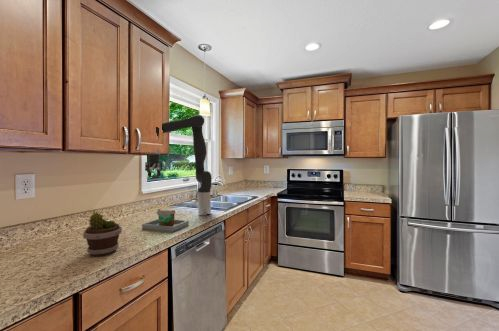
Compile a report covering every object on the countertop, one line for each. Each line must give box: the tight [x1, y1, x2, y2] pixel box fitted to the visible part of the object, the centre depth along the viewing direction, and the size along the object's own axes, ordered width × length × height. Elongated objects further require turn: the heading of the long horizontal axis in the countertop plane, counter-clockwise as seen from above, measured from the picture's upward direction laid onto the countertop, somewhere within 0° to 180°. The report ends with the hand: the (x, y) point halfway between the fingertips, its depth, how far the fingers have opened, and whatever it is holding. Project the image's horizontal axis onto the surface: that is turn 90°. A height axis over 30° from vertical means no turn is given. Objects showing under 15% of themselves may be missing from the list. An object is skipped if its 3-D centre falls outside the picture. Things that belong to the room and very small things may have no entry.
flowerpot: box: [82, 210, 123, 257], centre depth 108 cm, size 14×15×20 cm
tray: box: [141, 218, 190, 233], centre depth 149 cm, size 16×22×3 cm
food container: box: [156, 208, 176, 227], centre depth 148 cm, size 12×6×10 cm, turn 71°
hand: (154, 176), depth 168 cm, fingers open, 8 cm apart
